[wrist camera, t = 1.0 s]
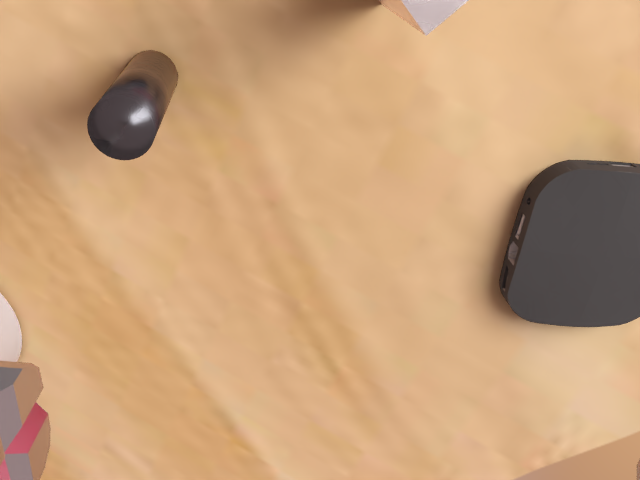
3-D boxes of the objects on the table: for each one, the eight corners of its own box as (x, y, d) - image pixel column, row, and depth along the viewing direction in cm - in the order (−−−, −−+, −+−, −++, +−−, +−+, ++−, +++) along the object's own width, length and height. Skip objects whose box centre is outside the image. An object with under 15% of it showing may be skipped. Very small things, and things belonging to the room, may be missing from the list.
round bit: (142, 106, 43) (108, 169, 33) (118, 61, 42) (74, 111, 31) (186, 89, 43) (166, 146, 33) (164, 42, 42) (135, 87, 31)
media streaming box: (635, 312, 58) (654, 331, 55) (487, 306, 55) (499, 325, 53) (697, 166, 51) (721, 180, 48) (532, 153, 49) (548, 167, 46)
